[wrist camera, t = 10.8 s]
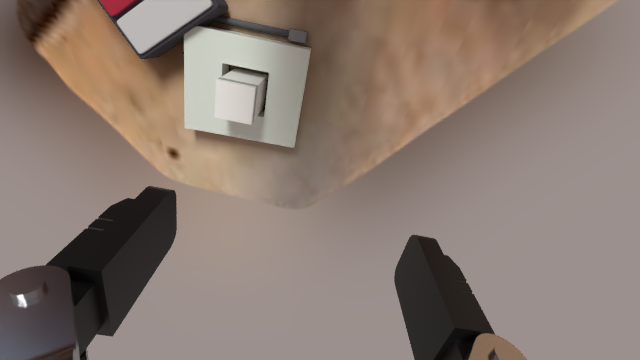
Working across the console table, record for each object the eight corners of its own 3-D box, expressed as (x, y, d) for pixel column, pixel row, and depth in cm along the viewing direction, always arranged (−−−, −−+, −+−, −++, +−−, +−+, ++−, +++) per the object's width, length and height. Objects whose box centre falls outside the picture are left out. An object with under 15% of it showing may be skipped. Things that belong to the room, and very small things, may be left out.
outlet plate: (194, 22, 36) (183, 23, 33) (311, 48, 37) (310, 50, 35) (193, 120, 42) (184, 127, 39) (295, 139, 43) (294, 148, 40)
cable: (199, 8, 35) (196, 8, 35) (307, 32, 36) (306, 32, 36) (199, 20, 36) (196, 20, 35) (305, 43, 37) (305, 43, 36)
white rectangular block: (235, 68, 38) (215, 79, 31) (267, 75, 39) (255, 87, 32) (233, 100, 40) (213, 117, 33) (263, 106, 41) (251, 125, 34)
